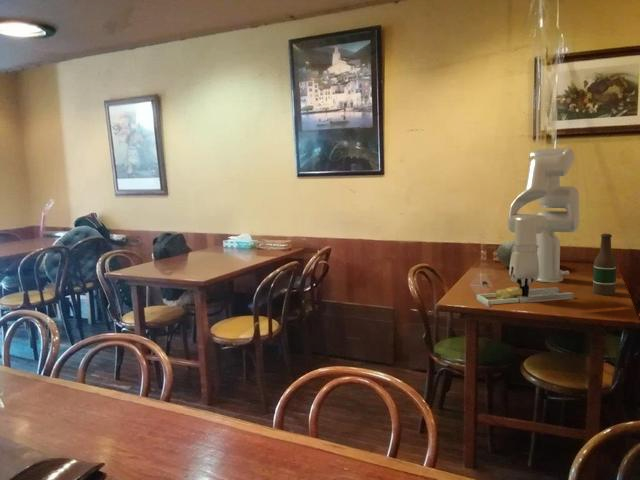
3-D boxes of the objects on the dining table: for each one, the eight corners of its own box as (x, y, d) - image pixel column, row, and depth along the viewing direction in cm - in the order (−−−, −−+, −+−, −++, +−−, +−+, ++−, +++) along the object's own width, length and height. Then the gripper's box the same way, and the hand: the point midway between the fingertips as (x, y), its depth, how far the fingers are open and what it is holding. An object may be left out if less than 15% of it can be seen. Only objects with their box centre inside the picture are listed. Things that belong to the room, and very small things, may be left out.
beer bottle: (614, 296, 189) (617, 235, 185) (592, 294, 193) (594, 234, 190) (615, 292, 195) (618, 233, 192) (593, 290, 199) (595, 232, 196)
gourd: (561, 266, 237) (555, 231, 236) (512, 276, 236) (505, 241, 236) (538, 262, 262) (531, 231, 261) (493, 271, 261) (486, 240, 261)
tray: (504, 298, 192) (504, 292, 192) (518, 304, 182) (518, 298, 182) (476, 300, 190) (476, 294, 190) (488, 307, 181) (488, 300, 180)
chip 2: (516, 296, 189) (516, 286, 189) (522, 299, 185) (521, 288, 185) (506, 297, 189) (506, 287, 188) (512, 300, 185) (512, 290, 184)
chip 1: (506, 298, 189) (506, 289, 189) (511, 301, 185) (511, 291, 185) (496, 299, 188) (496, 289, 188) (502, 302, 185) (502, 292, 184)
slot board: (554, 293, 196) (554, 286, 196) (574, 300, 185) (574, 293, 184) (504, 297, 193) (504, 290, 193) (520, 305, 181) (520, 298, 181)
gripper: (537, 246, 190) (536, 291, 192) (501, 248, 188) (501, 294, 190) (548, 249, 183) (547, 296, 185) (512, 251, 180) (511, 299, 183)
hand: (524, 295), depth 188 cm, fingers closed
